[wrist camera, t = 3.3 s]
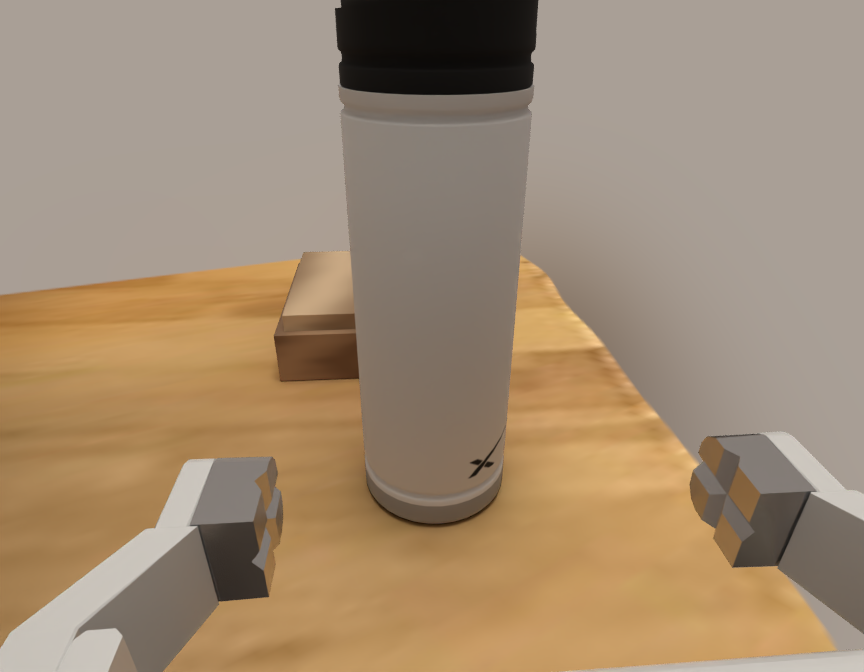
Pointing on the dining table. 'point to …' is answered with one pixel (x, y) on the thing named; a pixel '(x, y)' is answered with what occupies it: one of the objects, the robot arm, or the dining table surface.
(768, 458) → the robot arm
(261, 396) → the dining table surface
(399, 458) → the travel mug
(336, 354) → the plinth
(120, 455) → the dining table surface
